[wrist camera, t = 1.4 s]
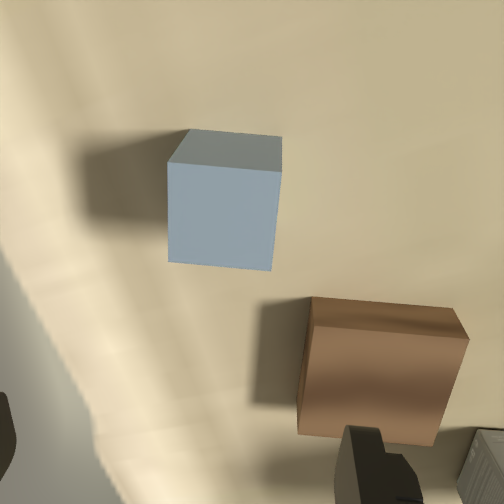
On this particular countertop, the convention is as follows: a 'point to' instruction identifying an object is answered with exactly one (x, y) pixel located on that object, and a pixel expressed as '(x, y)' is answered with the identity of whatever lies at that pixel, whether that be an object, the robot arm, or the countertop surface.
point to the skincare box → (483, 470)
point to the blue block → (224, 199)
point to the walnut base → (378, 368)
